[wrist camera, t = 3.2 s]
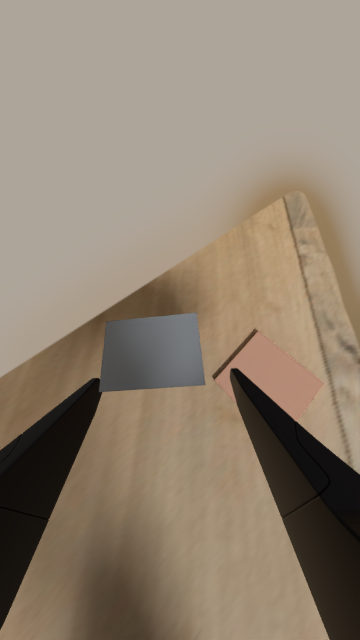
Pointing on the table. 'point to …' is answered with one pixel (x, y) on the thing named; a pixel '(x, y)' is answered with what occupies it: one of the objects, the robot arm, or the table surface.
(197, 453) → the table surface
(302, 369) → the terracotta pad
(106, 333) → the grey rectangular pillar
